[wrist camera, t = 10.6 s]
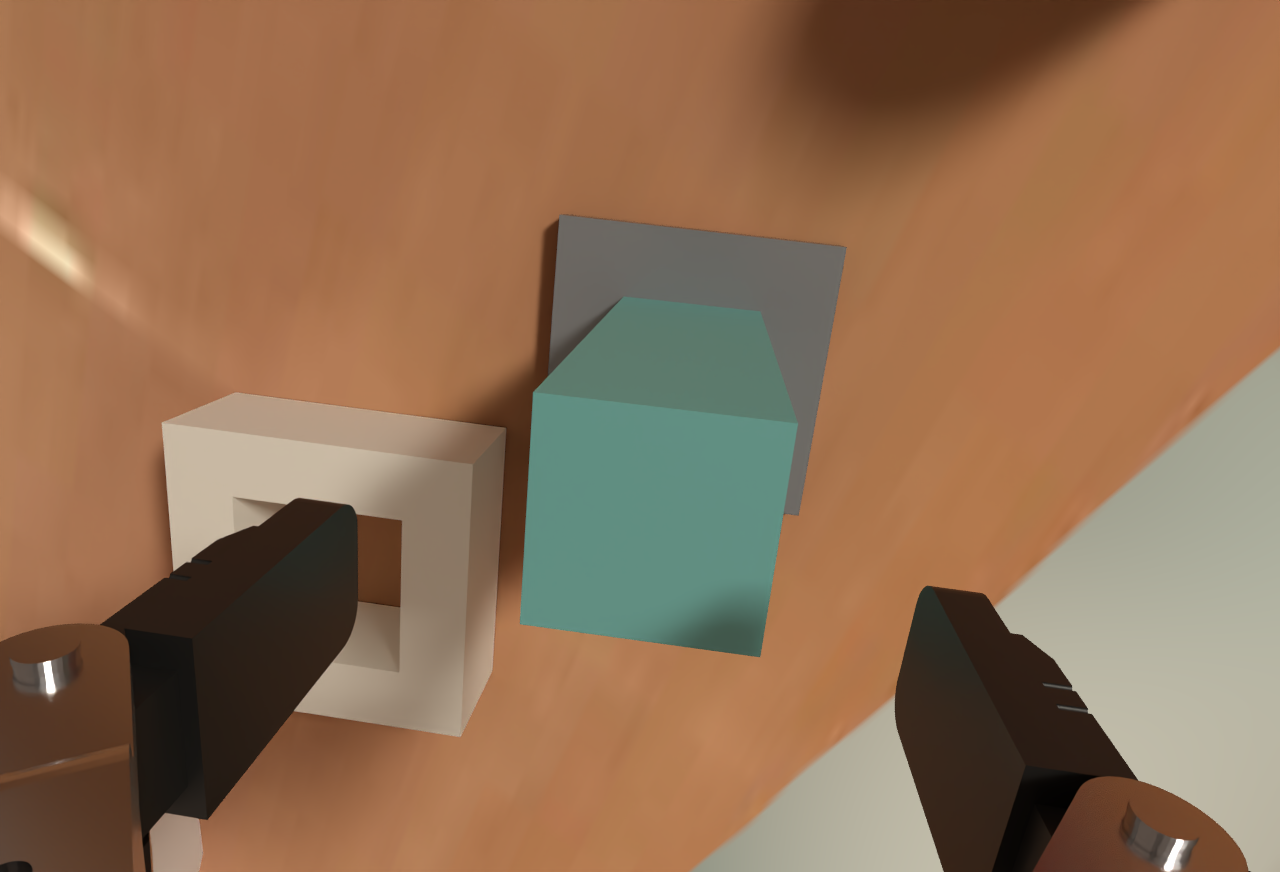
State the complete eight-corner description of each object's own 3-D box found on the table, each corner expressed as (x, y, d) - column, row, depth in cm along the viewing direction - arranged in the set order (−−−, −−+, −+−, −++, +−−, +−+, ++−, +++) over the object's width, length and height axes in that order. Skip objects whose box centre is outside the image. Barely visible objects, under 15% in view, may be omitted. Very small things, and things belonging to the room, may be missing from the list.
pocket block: (235, 392, 29) (162, 422, 25) (506, 427, 28) (472, 464, 24) (247, 633, 32) (183, 693, 28) (492, 670, 31) (460, 736, 27)
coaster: (564, 214, 26) (559, 214, 25) (842, 245, 25) (846, 247, 25) (545, 473, 29) (540, 480, 28) (796, 506, 28) (798, 515, 27)
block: (623, 296, 26) (533, 392, 13) (760, 311, 25) (798, 423, 13) (612, 426, 27) (519, 623, 15) (742, 442, 27) (760, 656, 14)
